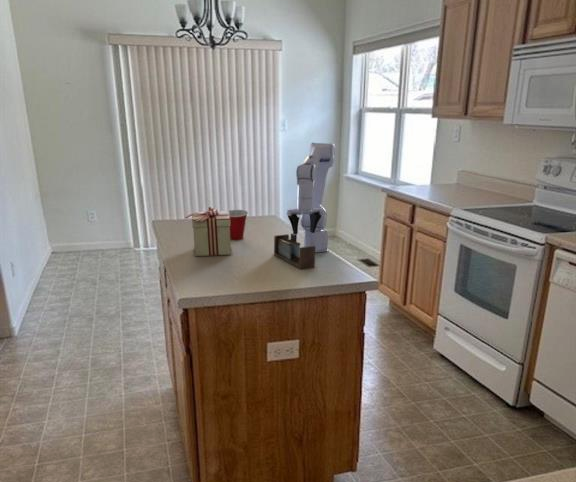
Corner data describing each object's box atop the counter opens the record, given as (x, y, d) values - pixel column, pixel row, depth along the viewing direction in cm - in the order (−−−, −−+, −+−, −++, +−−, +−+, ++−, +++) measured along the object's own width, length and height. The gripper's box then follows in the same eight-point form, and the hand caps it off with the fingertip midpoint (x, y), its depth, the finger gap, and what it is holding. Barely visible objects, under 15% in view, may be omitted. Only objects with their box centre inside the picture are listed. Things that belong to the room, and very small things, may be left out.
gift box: (185, 247, 223) (183, 206, 217) (229, 246, 227) (228, 205, 221) (187, 258, 208) (185, 214, 201) (234, 256, 212) (233, 213, 205)
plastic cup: (219, 239, 237) (219, 212, 232) (231, 234, 246) (230, 208, 242) (241, 242, 233) (241, 215, 229) (252, 237, 242) (252, 210, 238)
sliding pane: (288, 253, 214) (289, 231, 211) (300, 258, 207) (300, 236, 203) (286, 253, 214) (287, 231, 210) (297, 258, 206) (298, 236, 203)
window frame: (287, 253, 218) (287, 234, 215) (314, 267, 200) (315, 246, 197) (274, 255, 215) (274, 235, 212) (300, 269, 197) (301, 248, 194)
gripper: (293, 199, 195) (292, 236, 199) (327, 198, 201) (325, 233, 206) (284, 197, 200) (283, 233, 205) (317, 195, 207) (315, 230, 212)
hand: (303, 233), depth 206 cm, fingers open, 7 cm apart
